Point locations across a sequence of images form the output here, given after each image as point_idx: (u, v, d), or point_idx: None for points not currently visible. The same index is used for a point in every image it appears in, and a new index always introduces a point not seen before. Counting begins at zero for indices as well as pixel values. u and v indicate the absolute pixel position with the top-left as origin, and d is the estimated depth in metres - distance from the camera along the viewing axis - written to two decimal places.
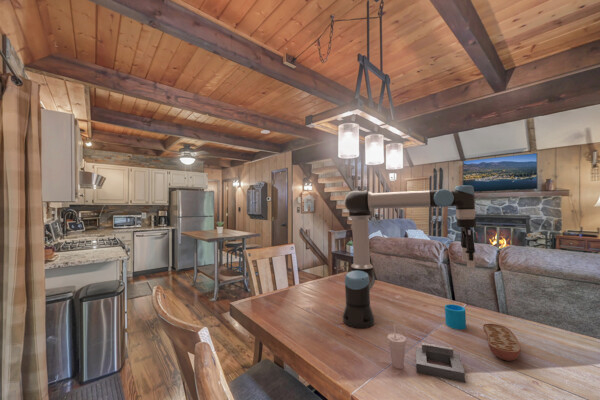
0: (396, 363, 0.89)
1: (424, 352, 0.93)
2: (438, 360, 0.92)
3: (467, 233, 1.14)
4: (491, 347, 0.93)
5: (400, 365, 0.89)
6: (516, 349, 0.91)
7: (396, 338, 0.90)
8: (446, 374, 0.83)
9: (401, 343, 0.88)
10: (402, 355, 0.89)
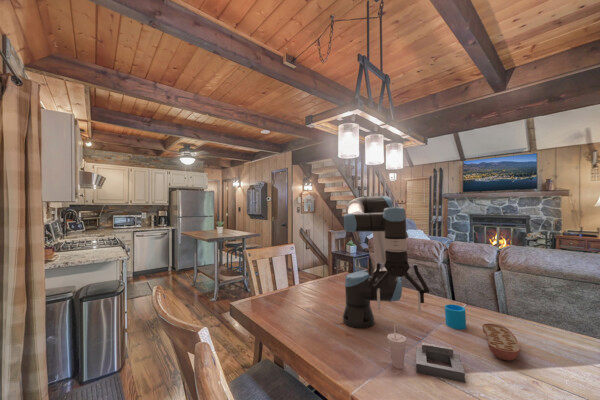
0: (396, 363, 0.89)
1: (424, 352, 0.93)
2: (438, 360, 0.92)
3: None
4: (491, 347, 0.93)
5: (400, 365, 0.89)
6: (516, 349, 0.91)
7: (396, 338, 0.90)
8: (446, 374, 0.83)
9: (401, 343, 0.88)
10: (402, 355, 0.89)
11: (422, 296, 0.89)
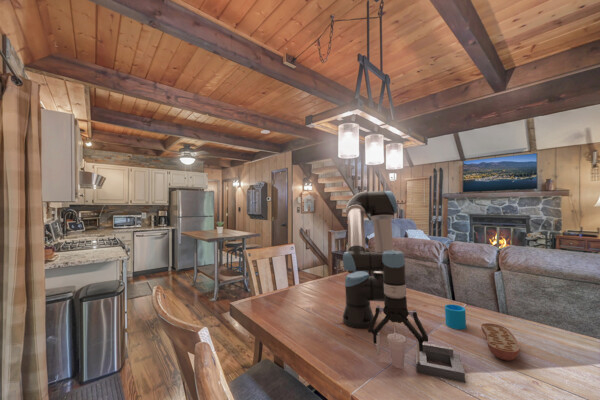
0: (396, 363, 0.89)
1: (424, 352, 0.93)
2: (438, 360, 0.92)
3: None
4: (490, 347, 0.93)
5: (400, 365, 0.89)
6: (515, 349, 0.91)
7: (396, 338, 0.90)
8: (446, 374, 0.83)
9: (401, 343, 0.88)
10: (402, 355, 0.89)
11: (421, 344, 0.87)
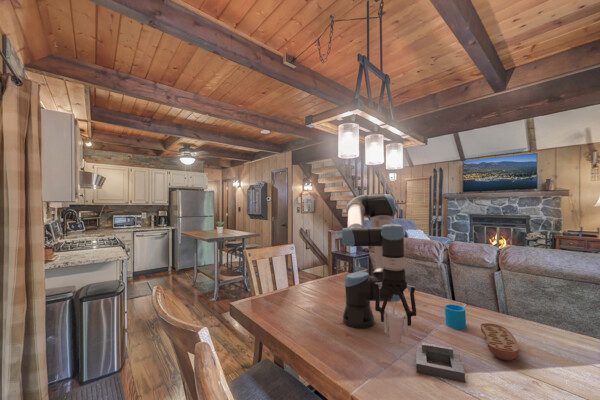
0: (394, 338, 0.90)
1: (424, 352, 0.93)
2: (438, 360, 0.92)
3: None
4: (490, 347, 0.93)
5: (398, 340, 0.90)
6: (515, 349, 0.91)
7: (395, 314, 0.91)
8: (446, 374, 0.83)
9: (400, 319, 0.89)
10: (400, 331, 0.90)
11: (409, 319, 0.89)
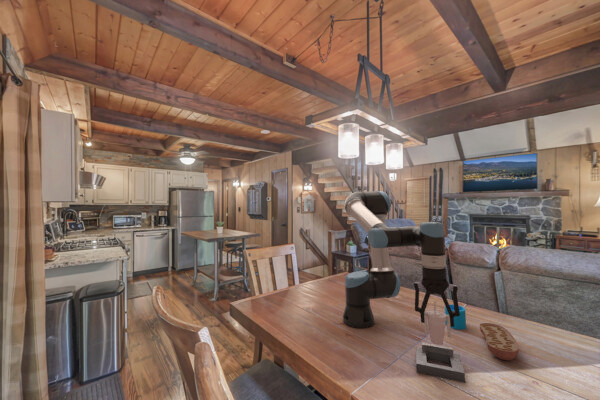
0: (436, 339, 0.87)
1: (424, 352, 0.93)
2: (438, 360, 0.92)
3: None
4: (490, 347, 0.93)
5: (440, 341, 0.87)
6: (514, 348, 0.91)
7: (436, 314, 0.88)
8: (446, 374, 0.83)
9: (442, 319, 0.86)
10: (442, 331, 0.87)
11: (452, 319, 0.87)
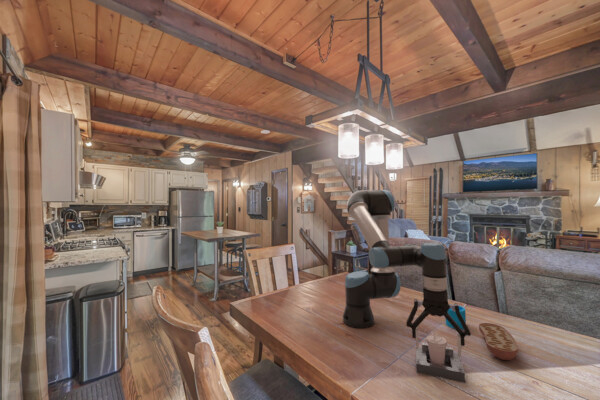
0: None
1: (424, 352, 0.93)
2: None
3: None
4: (489, 347, 0.93)
5: None
6: (514, 348, 0.91)
7: (436, 340, 0.88)
8: (446, 374, 0.83)
9: (442, 345, 0.86)
10: (443, 357, 0.87)
11: (462, 339, 0.85)
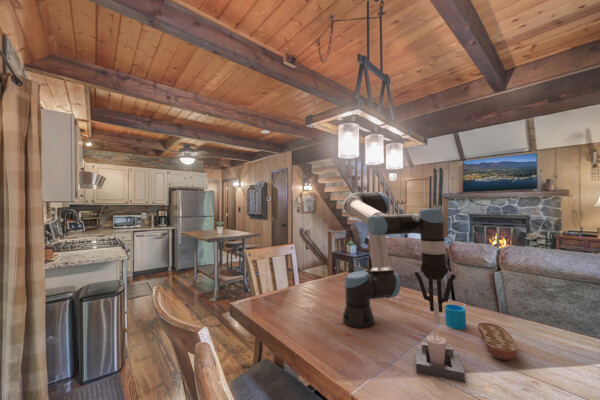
0: None
1: (424, 352, 0.93)
2: None
3: None
4: (489, 347, 0.93)
5: None
6: (513, 348, 0.91)
7: (436, 340, 0.88)
8: (446, 374, 0.83)
9: (442, 345, 0.86)
10: (443, 357, 0.87)
11: (440, 305, 0.88)
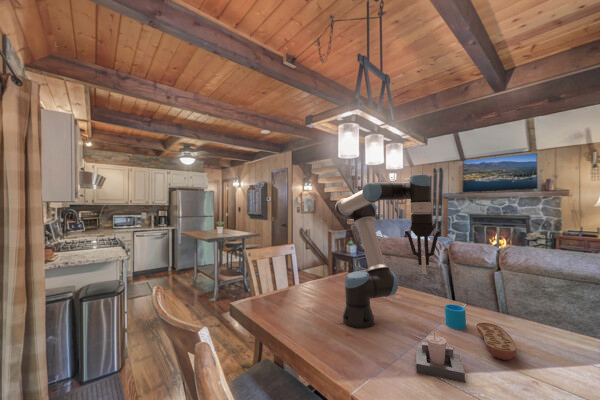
0: None
1: (424, 352, 0.93)
2: None
3: None
4: (489, 347, 0.93)
5: None
6: (513, 348, 0.91)
7: (436, 340, 0.88)
8: (446, 374, 0.83)
9: (442, 345, 0.86)
10: (443, 357, 0.87)
11: (427, 259, 1.00)
